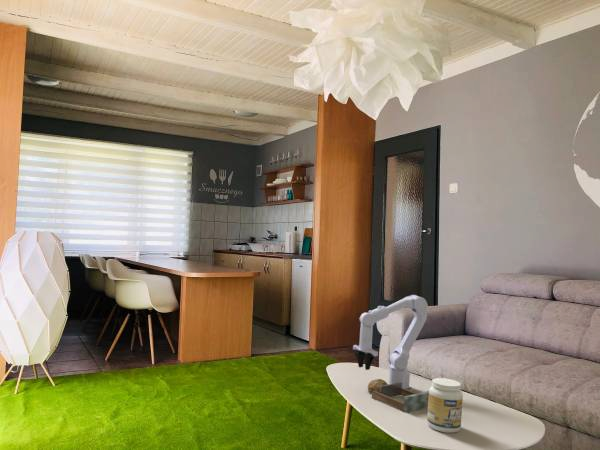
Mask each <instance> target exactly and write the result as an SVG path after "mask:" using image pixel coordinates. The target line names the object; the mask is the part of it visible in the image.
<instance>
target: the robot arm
mask: <svg viewBox="0 0 600 450" xmlns="http://www.w3.org/2000/svg"><path fill="white" fill-rule="evenodd" d="M428 307H429V305H428V302H427V300H426V299H425V298H424V297H422V296H418V295H416V294H411V295H408V296H405V297H403V298H402V299H400V300H398V301H396V302H393V303H391V304H389V305H388V306H384V305H378V306H377V308H374V309H372V310H368V312H363V313H361V315H360V317H358V319H359V322H360V330H359V343H358V345H357V344H354V345H353V346H352V350H356V351H355V352H354V354H355V357H356V360H357V364H358V365H357V366H358V368H365V370H366V371H367V370H369V371H370V370H371V366H372V364H373V361H374V360H375V358H376V357H378V356H379V351H377V350H375V349H373V348H372V345H373V326H374V325H375V323H377V322H380V321H382V320H384V319H387V318H388V317H389V316H390V314H391V313H395V312H398V311H400V310H402V309H405V308H406V309H411V311H412V313H413V316H414V317H413V319H412V320H411V323H410V324H409V326H408V328H407V330H406V331H405V334H404V336H403V337H402V339H401V341H400V343H399V345H398V346H397V347H396V348H395V349H393V351H391V353H390V354H389V355H388V361H389V363H390V366H389V377H388V384H394V383H399V382H402V388H404V389H407V390H408V389H411V388H412V387H411V386H410V379H411V378H410V377H411V372H410V370H409V369H408V368H407V367H408V364H409V363H408V362H409V359H410V351H411V350H412V347H413V346H414V344H415V341H416V340H417V338H418V336H419V335H420V332H421V331H422V330H423V329H422V328H423V327H424V324H425V323H426V321H427V318H428ZM364 362H365V363H364Z"/></svg>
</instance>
